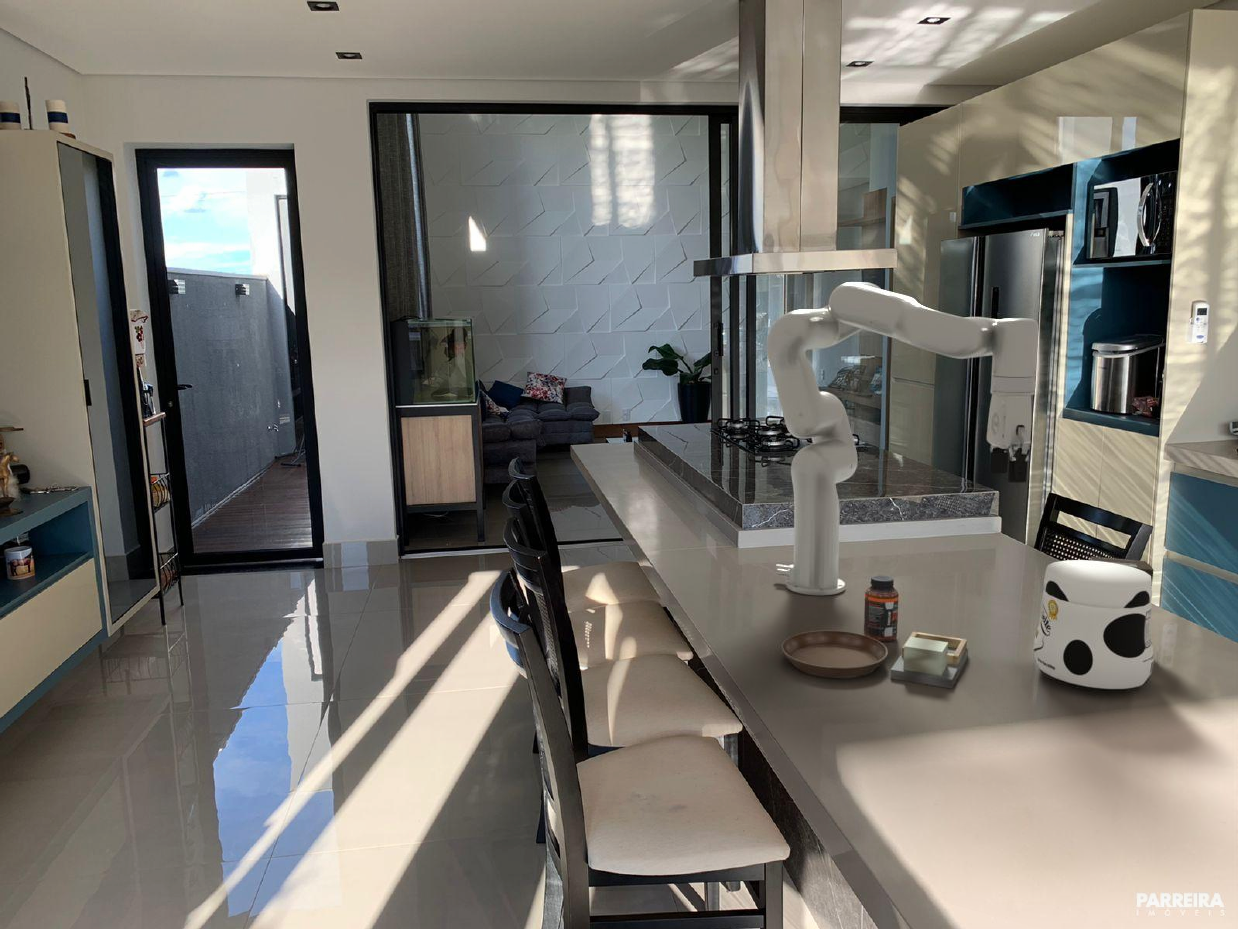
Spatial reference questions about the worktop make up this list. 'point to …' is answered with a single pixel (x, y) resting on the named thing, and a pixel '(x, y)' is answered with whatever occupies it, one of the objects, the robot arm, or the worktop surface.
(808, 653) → the plant saucer
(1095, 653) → the milk container
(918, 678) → the base
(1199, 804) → the worktop surface
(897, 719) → the worktop surface
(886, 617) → the supplement bottle
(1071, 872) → the worktop surface
